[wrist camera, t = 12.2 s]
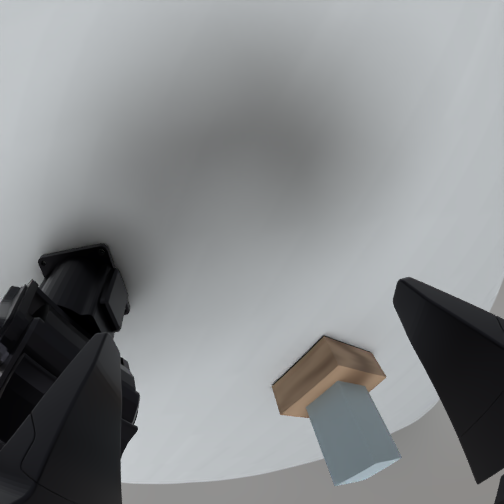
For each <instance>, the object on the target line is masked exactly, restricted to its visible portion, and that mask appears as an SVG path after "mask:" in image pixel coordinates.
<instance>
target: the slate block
mask: <svg viewBox="0 0 504 504" xmlns="http://www.w3.org/2000/svg"><path fill="white" fill-rule="evenodd" d="M306 409H307V412H308V415H309V418H310V420H311V423H312V426H313V429H314V431H315V434H316V437H317V439H318V442H319V445H320V448H321V450H322V453H323V456H324V458H325V461H326V464H327V466H328V469H329V472H330V475H331V477H332V480H333V483H334V486H338V485H343V484H347V483H353V482H357V481H361V480H365V479H367V478H369V477H370V476H372V475H374V474H376V473H378V472H379V471H381V470H383V469H384V468H386V467H388V466H389V465H391V464H393V463H394V462H396V461H397V460H399V459H400V458H402V457H401V455H400V453H399V451H398V449H397V447H396V445H395V443H394V441H393V439H392V437H391V435H390V433H389V431H388V429H387V427H386V425H385V423H384V421H383V419H382V417H381V415H380V413H379V411H378V410H377V408H376V406H375V404H374V402H373V400H372V398H371V396H370V394H369V392H368V390H367V389H366V387H365V386H362V385H357V384H352V383H347V382H342V381H337V382H335V383H334V384H333V385H332V386H331V387H330V388H328V389H327V390H326V391H325V392H324V393H323V394H321V395H320V396H319V397H318V398H316V399H315V400H314V401H313V402H312V403H310V404H309V405H308V406H307V407H306Z"/></svg>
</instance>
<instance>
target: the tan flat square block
mask: <svg viewBox="0 0 504 504" xmlns="http://www.w3.org/2000/svg"><path fill="white" fill-rule="evenodd" d="M385 378H386V375H385V374H384V372H383V370H382V369H381V367H380V365H379V364H378V362H377V360H376V359H375V357H374V355H373V354H372V353H370V352H367V351H364V350H361V349H358V348H356V347H353V346H350V345H347V344H344V343H341V342H339V341H336V340H333V339H330V338H328V337H325V336H324V337H323V338H322V339H321V340H320V341H319V342H318V343H317V344H316V345H315V346H314V347H313V348H312V349H311V350H310V351H309V352H308V353H307V354H306V355H305V356H304V357H303V358H302V359H301V360H300V361H299V362H298V363H297V364H296V365H294V366H293V367H292V368H291V369H290V370H289V371H288V372H287V373H286V374H285V375H284V376H283V377H282V378H281V379H280V380H278V381H277V382H276V383H275V384H274V385H273V386H272V388H273V392H274V395H275V399H276V402H277V405H278V409H279V412H280V415H287V416H295V417H305V418H309V415H308V412H307V409H306V407H307V406H308V405H309V404H310V403H312V402H313V401H314V400H315V399H316V398H318V397H319V396H320V395H321V394H323V393H324V392H325V391H326V390H327V389H328V388H330V387H331V386H332V385H333V384H334V383H335V382H337V381H342V382H347V383H352V384H357V385H362V386H365V387H366V389H367V390H368V392H370V391H371V390H372V389H373V388H375V387H376V386H377V385H378V384H379V383H380V382H382V381H383V380H384V379H385Z"/></svg>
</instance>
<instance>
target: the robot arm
mask: <svg viewBox="0 0 504 504" xmlns="http://www.w3.org/2000/svg"><path fill="white" fill-rule="evenodd" d="M100 249H103V250H104V253H102V252H101V251H100ZM43 261H45V263H44V262H43ZM38 263H39V266H40V268H41V271H42V273H43V275H44V277H45V278H44V280H43V282H42V283H41V285H40V287H38V284H37V283H36V282H35V281H34V280H33V279H32V280H31V281H30V282H29V283H28V285H26V284H25V285H24V286H23V287H21V288H19V287H14V286H11V287H10V289H9V290H8V291H7V293H6V294H5V296H4V297H3V299H2V301H1V302H0V504H122V495H121V462H120V460H121V457H122V454H123V452H124V450H125V448H126V446H127V444H128V442H129V441H130V440H131V438H132V437H133V436H134V434H135V433H136V432H137V430H138V427H137V426H135V425H134V423H135V420H136V418H137V413H138V408H139V401H140V395H139V393H138V392H137V391H136V388H135V381H134V377H133V375H132V373H131V372H130V369H129V365H128V362H127V361H126V360H125V359H123V358H122V357H121V358H120V352H119V350H118V348H117V346H116V344H115V342H114V340H113V338H114V333H115V332H119V331H120V329H121V326H122V321H123V316H124V315H126V314H128V313H129V311H130V306H129V303H128V301H127V298H128V293H127V291H126V288H125V285H124V283H123V280H122V277H121V274H120V272H119V270H118V269H117V268H115V266H114V263H113V260H112V257H111V254H110V251H109V248H108V246H107V245H105V244H96V245H91V246H86V247H81V248H76V249H71V250H66V251H61V252H57V253H52V254H47V255H43V256H41V257H40V259H39V260H38ZM393 304H394V307H395V309H396V312H397V314H398V316H399V318H400V320H401V322H402V325H403V327H404V329H405V331H406V334H407V336H408V338H409V340H410V342H411V344H412V346H413V348H414V350H415V352H416V354H417V355H418V357H419V359H420V361H421V363H422V365H423V366H424V368H425V370H426V372H427V374H428V376H429V378H430V380H431V382H432V384H433V386H434V387H435V389H436V391H437V393H438V395H439V397H440V400H441V401H442V403H443V406H444V408H445V410H446V412H447V414H448V416H449V418H450V420H451V422H452V425H453V427H454V429H455V431H456V434H457V436H458V438H459V441H460V443H461V446H462V448H463V450H464V453H465V455H466V458H467V460H468V463H469V465H470V467H471V470H472V473H473V475H474V478H475V481H476V483H477V484H480V483H481V482H483V481H485V480H486V479H488V478H489V477H491V476H493V475H494V474H496V473H497V472H499V471H500V470H502V469H503V468H504V319H502V318H500V317H498V316H495V315H493V314H492V313H489V312H487V311H485V310H483V309H481V308H479V307H476V306H474V305H472V304H470V303H468V302H465V301H463V300H461V299H459V298H457V297H454V296H452V295H450V294H448V293H445V292H443V291H441V290H439V289H436V288H434V287H432V286H430V285H427V284H425V283H423V282H420V281H418V280H416V279H413V278H411V277H406V278H402V279H400V280H399V281H398V282H397V285H396V289H395V293H394V297H393ZM494 504H504V474H503V475H502V476H501V479H500V484H499V488H498V492H497V496H496V499H495V503H494Z"/></svg>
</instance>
